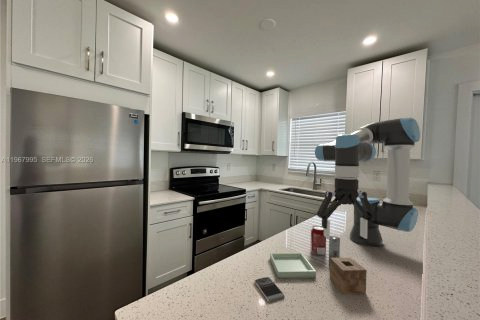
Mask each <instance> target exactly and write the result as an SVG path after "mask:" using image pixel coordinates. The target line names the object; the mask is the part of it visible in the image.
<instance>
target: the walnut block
mask: <svg viewBox="0 0 480 320" xmlns="http://www.w3.org/2000/svg"><path fill="white" fill-rule="evenodd" d="M329 281H331V283H332V284H333V285H334V286H335V287H336V289H338V291H339V292H340V293H341V294H342V295H364V294H366V295H367V269H366V268H365V267H364V266H362V265H361V264H360V263H359V262H357V261H356V260H355V259H354V258H352V257H340V258H330V267H329Z"/></svg>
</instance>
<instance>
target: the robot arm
mask: <svg viewBox="0 0 480 320" xmlns="http://www.w3.org/2000/svg"><path fill="white" fill-rule="evenodd" d="M420 139H421V130H420V127H419V123H418V122H417V120H416V119H415V118H413V117H400V118H394V119H393V118H392V119H388V120H379V121H374V122H371V123H369V124H365V125H364V126H361V127H358V128H357V129H355V130H354V132H352V133H348V134H346V133H345V134H337V136H336V137H335V140H333V141H332V142H329V143H322V144H318V145H316V147H315V149H314V156H315V158H316V159H317V160H318V161H323V162H334V177H336V178H334V184H333V185H334V187H333V188H334V191H329V190H326V191H325V196H324V199H323V200H322V202H321V204H320V206H319V208H318V210H317V212H316V216H317V217H318V218H320V219H321V226H322V227H323V228H324V236H325V237H326V240H327V239H328V240H329V239H330V236H331V235H330V234H331V233H330V232H331V231H330V230H331V229H330V225H331V220H330V219H329V218H330V217H331V215H332V214H334V212H335V211H336V210H337V209H338V207H340V206H341V205H349V206H350V205H352V206H353V224H352V228H351V230H350V232H349V239H350V240H351V241H352V242H354V243H357V244H360V245H363V246H369V247H380V246H383V238H382V234H381V231H380V226H381V227H386V228H389V229H393V230H396V231H399V232H400V231H401V232H406V233H410V232H411V231H413V230H414V229H415V227H416V225H417V222H418V219H419V211H418V209H417V208H415V207H414V203H413V202H412V201H411V199H410V173H411V172H410V169H411V167H410V166H411V164H410V163H411V150H412V149H413V148H414V147H415V143H417V142H419V141H420ZM373 144H384V145H383V147H384V148H385V149H386V150H387V160H386V163H387V164H386V195H385V196H386V197H385V198H383V199H382V202H381V201H380V199H379V198H374V197H373V198H371V197H368V192H366V191H362V190H359V182H360V181H359V179H358V178H359V177H360V176H359V175H360V173H359V172H360V171H359V170H360V169H359V166H360V164H359V163H360V162H362V163H366V162H370V161H372V160H373V159H374V158H375V157H376V153H377V149H376V147H375V146H374V145H373ZM358 190H359V191H358ZM333 198H334V199H333ZM332 199H333V200H332ZM331 201H332V202H331Z"/></svg>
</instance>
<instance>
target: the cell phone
mask: <svg viewBox="0 0 480 320" xmlns="http://www.w3.org/2000/svg"><path fill="white" fill-rule="evenodd" d="M253 282H254V284H255V286H256V288H257V289H258V291H259V292H260V293H261V295H262V296H263V298H265V300H266V302H268V303H269V304H273V303H276V302H279V301H282V300H285V294H284V293H283V291H282V290H281V289H280V288H279V286H277V284H276V283H275V282H274V281H273V280H272V279H271V277H268V276H265V277H259V278H256V279H254V281H253Z"/></svg>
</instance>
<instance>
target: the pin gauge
mask: <svg viewBox="0 0 480 320" xmlns="http://www.w3.org/2000/svg"><path fill="white" fill-rule="evenodd" d="M340 249H341V238H340V237H339V236H335V235H330V239H328V267H329V268H330V258H341V256H340V254H341V250H340Z"/></svg>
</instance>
